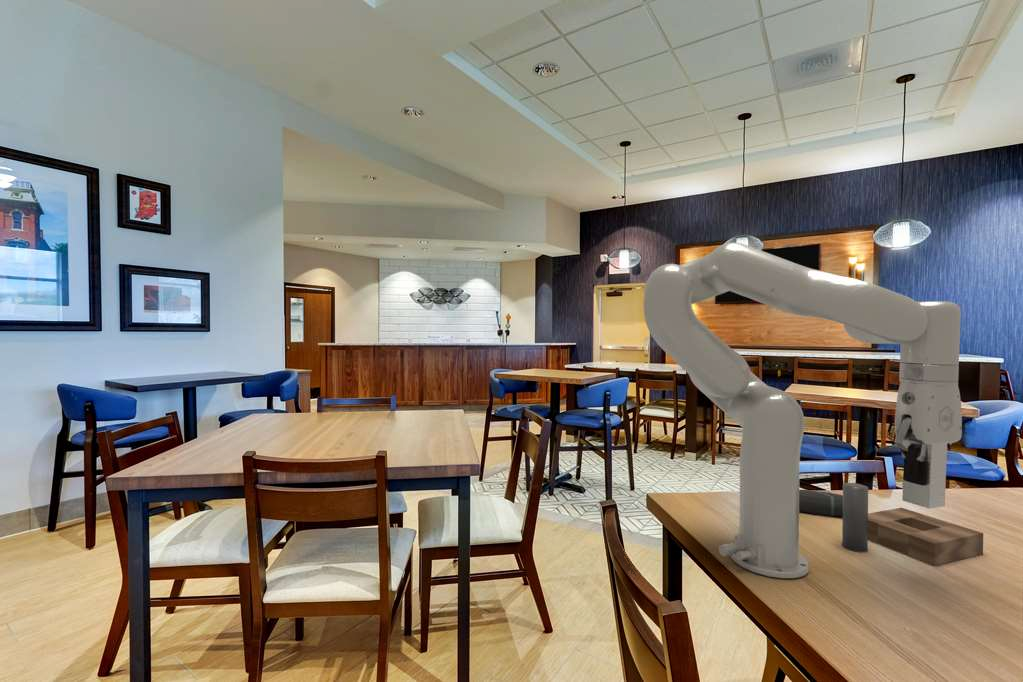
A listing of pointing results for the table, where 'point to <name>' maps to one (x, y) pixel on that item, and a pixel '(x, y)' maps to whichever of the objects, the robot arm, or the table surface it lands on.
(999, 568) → the table surface
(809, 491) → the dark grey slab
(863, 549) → the round bit
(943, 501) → the square bit
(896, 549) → the bore block
